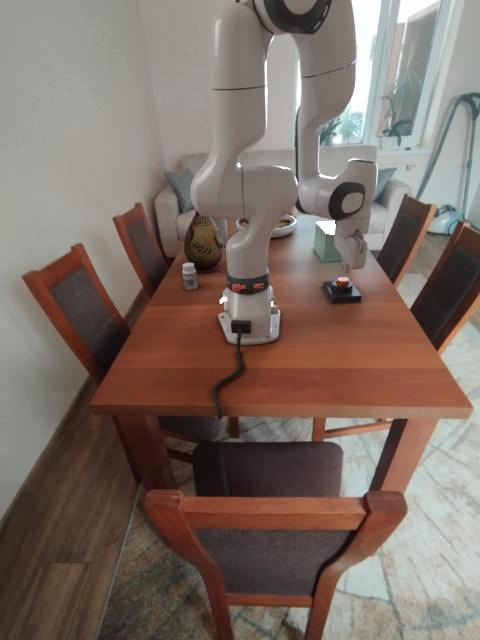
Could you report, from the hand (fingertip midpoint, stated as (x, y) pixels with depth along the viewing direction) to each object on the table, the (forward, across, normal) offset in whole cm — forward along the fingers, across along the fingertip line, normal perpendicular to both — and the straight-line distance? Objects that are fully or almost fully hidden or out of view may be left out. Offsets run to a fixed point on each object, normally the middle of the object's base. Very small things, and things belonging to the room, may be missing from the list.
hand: (345, 271), depth 103 cm
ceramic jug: (+9, +31, +46) cm, 56 cm away
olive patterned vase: (+9, +59, +44) cm, 74 cm away
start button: (+4, 0, 0) cm, 4 cm away
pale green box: (+9, +37, -6) cm, 39 cm away
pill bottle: (+8, +13, +51) cm, 53 cm away
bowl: (+10, +75, +18) cm, 78 cm away
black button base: (+8, 0, 0) cm, 8 cm away
